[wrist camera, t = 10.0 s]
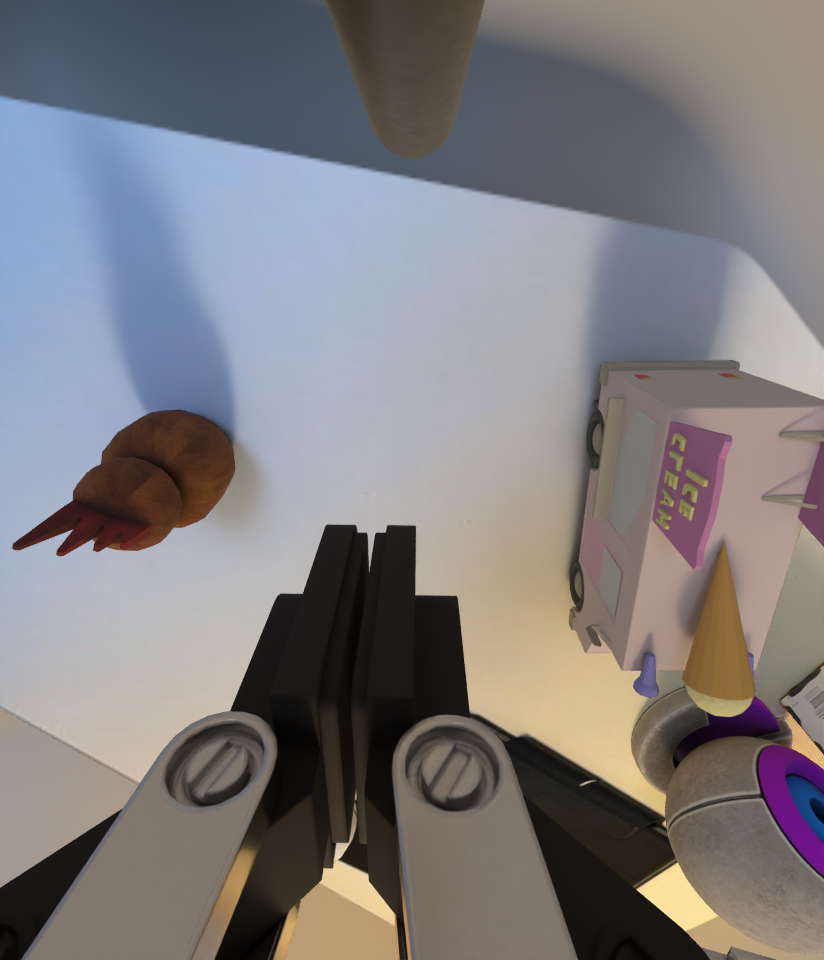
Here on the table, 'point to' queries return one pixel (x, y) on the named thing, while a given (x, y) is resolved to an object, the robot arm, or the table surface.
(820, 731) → the candy box
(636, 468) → the toy vehicle
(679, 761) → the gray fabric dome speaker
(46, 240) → the table surface
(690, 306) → the table surface
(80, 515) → the wooden figurine
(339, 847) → the seamed sphere
